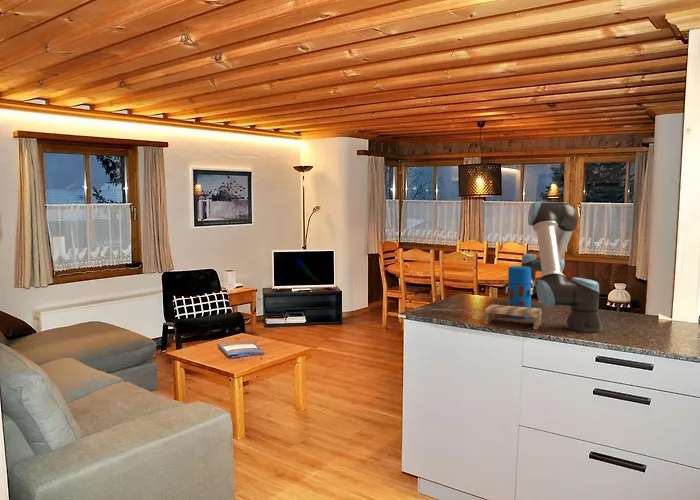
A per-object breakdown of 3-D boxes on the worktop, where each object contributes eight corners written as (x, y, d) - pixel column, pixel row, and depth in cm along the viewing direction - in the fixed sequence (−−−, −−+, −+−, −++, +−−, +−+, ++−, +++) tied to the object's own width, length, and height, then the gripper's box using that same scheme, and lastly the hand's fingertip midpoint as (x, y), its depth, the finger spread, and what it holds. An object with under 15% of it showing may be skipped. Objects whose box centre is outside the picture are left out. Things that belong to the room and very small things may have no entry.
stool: (540, 323, 267) (541, 308, 266) (536, 329, 255) (537, 314, 254) (490, 318, 278) (491, 304, 277) (484, 323, 265) (484, 309, 264)
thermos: (532, 318, 275) (532, 268, 272) (510, 318, 276) (509, 269, 274) (529, 314, 285) (528, 265, 283) (507, 314, 287) (507, 266, 285)
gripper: (548, 293, 291) (542, 300, 272) (502, 290, 301) (494, 296, 282) (548, 279, 291) (543, 285, 271) (503, 276, 301) (495, 282, 281)
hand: (518, 291), depth 276 cm, fingers closed on thermos, 11 cm apart
